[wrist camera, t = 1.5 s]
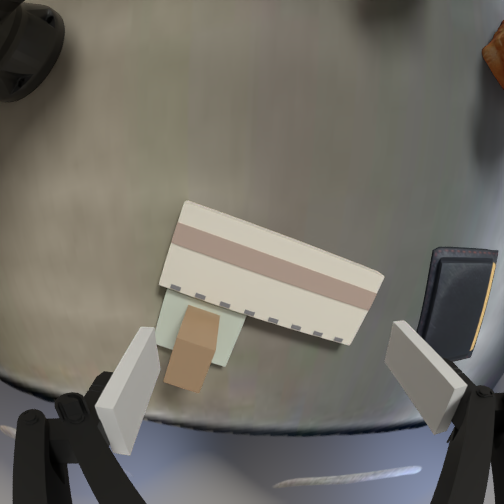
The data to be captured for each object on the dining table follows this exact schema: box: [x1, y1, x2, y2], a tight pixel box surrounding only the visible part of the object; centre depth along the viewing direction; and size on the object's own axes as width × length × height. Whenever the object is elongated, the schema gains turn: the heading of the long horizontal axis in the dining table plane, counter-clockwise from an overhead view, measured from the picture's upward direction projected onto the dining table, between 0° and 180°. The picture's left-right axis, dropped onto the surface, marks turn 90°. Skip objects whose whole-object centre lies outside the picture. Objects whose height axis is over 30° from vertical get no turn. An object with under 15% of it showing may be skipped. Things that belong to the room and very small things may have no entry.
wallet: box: [417, 247, 498, 362], centre depth 40 cm, size 20×2×15 cm
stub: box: [155, 288, 246, 393], centre depth 34 cm, size 10×8×9 cm
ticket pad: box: [159, 200, 384, 345], centre depth 36 cm, size 25×10×2 cm, turn 69°
